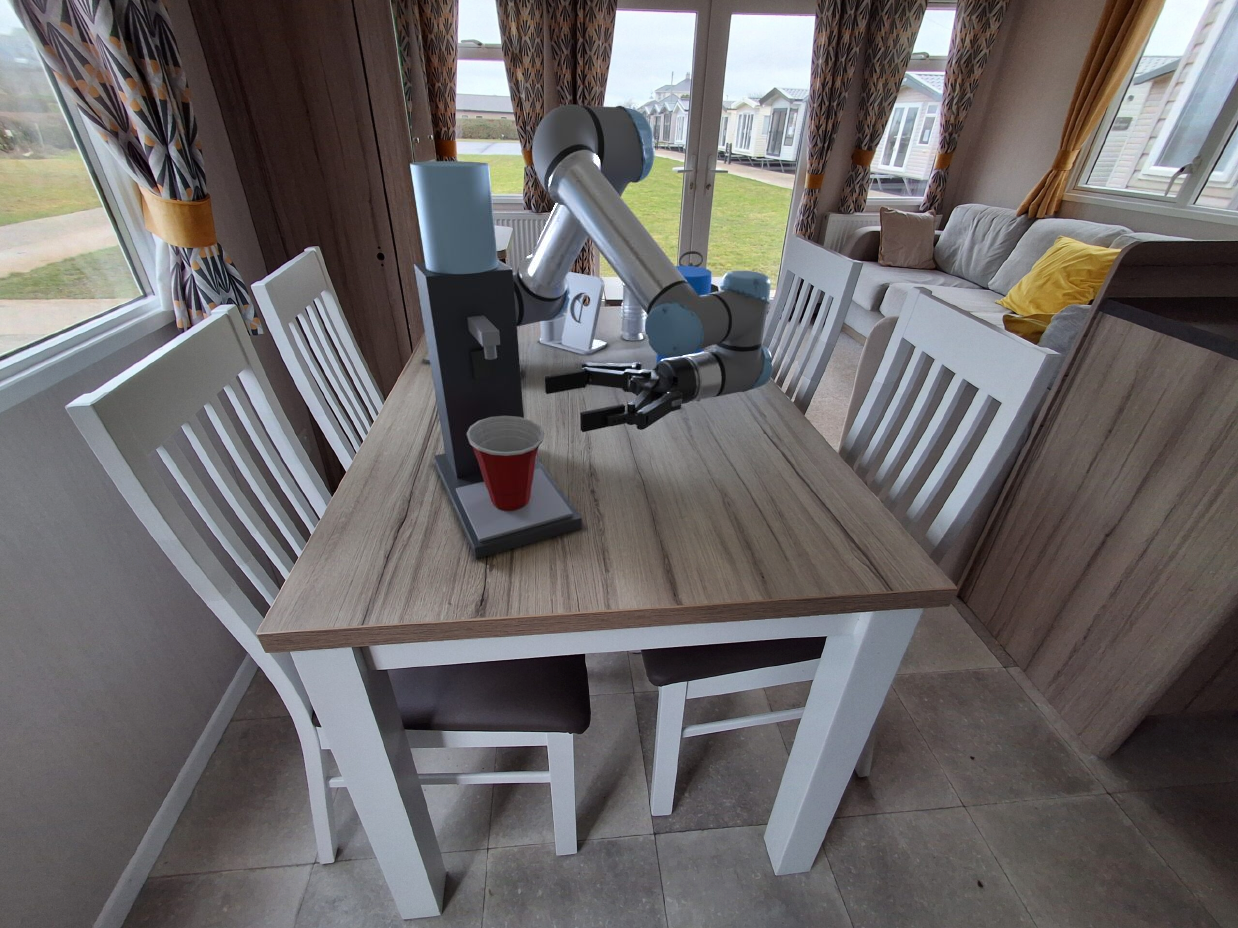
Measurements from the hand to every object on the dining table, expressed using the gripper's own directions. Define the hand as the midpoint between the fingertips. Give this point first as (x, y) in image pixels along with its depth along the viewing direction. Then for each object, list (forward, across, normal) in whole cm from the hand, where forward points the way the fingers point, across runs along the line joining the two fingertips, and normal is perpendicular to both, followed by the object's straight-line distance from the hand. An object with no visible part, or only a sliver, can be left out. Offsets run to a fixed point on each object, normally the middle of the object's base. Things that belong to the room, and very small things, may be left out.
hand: (562, 402), depth 81 cm
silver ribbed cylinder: (-48, +66, -18) cm, 84 cm away
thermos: (-44, +35, -18) cm, 58 cm away
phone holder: (-30, +68, -18) cm, 77 cm away
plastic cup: (+9, 0, -15) cm, 17 cm away
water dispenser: (+9, +6, -17) cm, 20 cm away
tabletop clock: (-57, +54, -18) cm, 80 cm away
